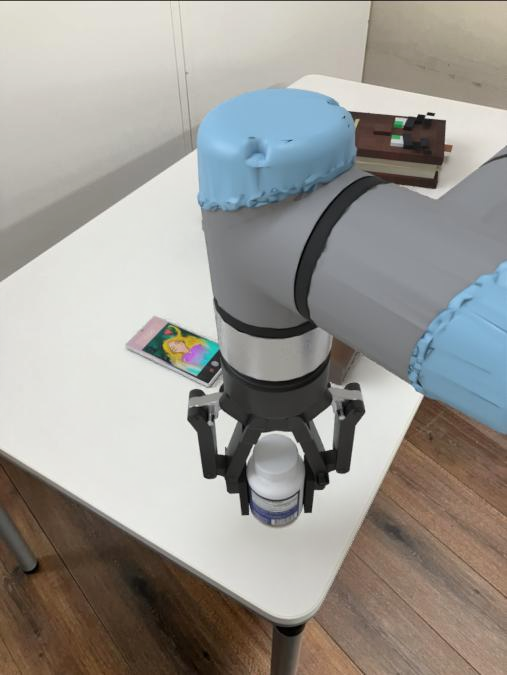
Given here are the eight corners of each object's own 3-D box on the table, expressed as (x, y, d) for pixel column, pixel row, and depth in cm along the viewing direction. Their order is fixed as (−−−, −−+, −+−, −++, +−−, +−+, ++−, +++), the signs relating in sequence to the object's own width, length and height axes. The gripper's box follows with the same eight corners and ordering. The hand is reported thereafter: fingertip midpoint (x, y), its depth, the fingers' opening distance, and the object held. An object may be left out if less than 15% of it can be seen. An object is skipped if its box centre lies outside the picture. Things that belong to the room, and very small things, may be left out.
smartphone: (208, 385, 69) (123, 345, 75) (209, 388, 70) (124, 348, 75) (236, 351, 74) (154, 315, 79) (236, 354, 74) (154, 318, 79)
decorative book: (320, 102, 115) (458, 114, 109) (317, 134, 121) (449, 148, 115) (302, 141, 102) (458, 157, 96) (300, 175, 108) (447, 193, 102)
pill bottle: (263, 471, 54) (261, 417, 46) (311, 491, 52) (316, 439, 45) (239, 516, 50) (233, 465, 43) (289, 539, 48) (292, 491, 41)
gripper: (400, 299, 37) (362, 464, 53) (144, 309, 37) (186, 470, 54) (427, 380, 31) (375, 535, 48) (129, 392, 32) (180, 542, 48)
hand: (275, 501), depth 51 cm, fingers closed on pill bottle, 5 cm apart
